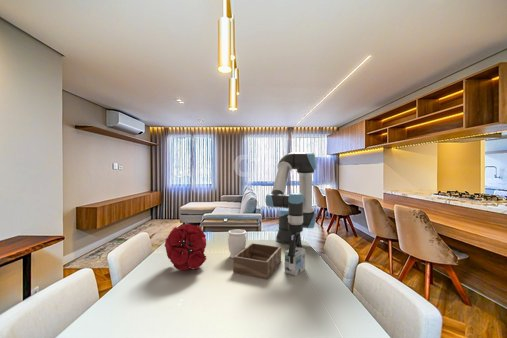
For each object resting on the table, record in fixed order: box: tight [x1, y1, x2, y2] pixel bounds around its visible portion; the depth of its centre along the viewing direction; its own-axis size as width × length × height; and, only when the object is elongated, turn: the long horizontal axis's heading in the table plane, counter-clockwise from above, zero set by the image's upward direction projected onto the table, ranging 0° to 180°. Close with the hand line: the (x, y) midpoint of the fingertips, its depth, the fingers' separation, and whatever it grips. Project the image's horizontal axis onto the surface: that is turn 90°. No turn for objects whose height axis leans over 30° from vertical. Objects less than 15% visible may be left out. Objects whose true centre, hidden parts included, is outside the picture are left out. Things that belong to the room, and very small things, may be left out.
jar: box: [227, 229, 247, 259], centre depth 139 cm, size 11×10×15 cm
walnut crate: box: [232, 242, 282, 280], centre depth 125 cm, size 24×18×8 cm
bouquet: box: [164, 223, 207, 271], centre depth 126 cm, size 22×24×30 cm
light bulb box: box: [284, 247, 306, 277], centre depth 121 cm, size 11×7×11 cm, turn 143°
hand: (295, 264), depth 121 cm, fingers open, 13 cm apart
